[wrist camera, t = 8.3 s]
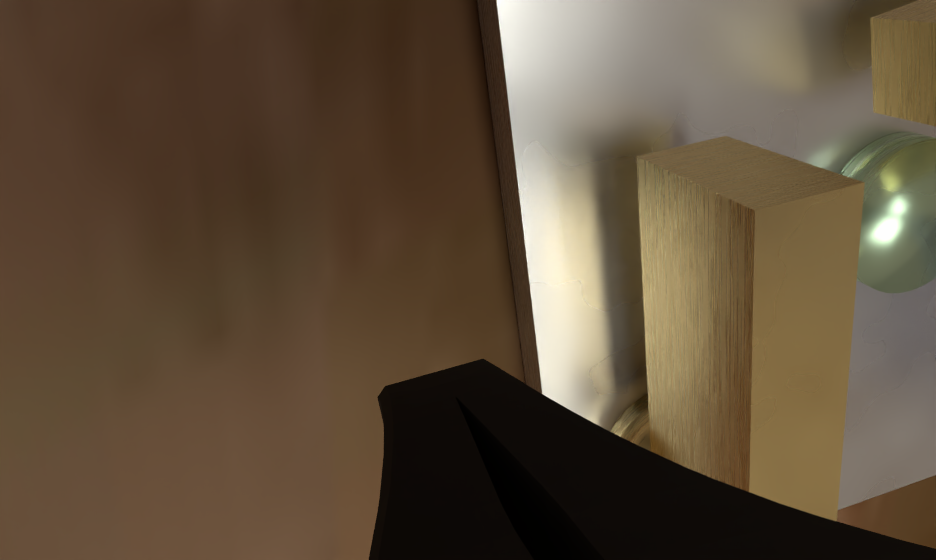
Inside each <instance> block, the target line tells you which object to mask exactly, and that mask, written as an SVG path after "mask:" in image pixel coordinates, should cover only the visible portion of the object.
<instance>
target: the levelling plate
mask: <svg viewBox="0 0 936 560" xmlns="http://www.w3.org/2000/svg"><path fill="white" fill-rule="evenodd" d="M914 1H917V0H477V5H478V12H479V20H480V28H481V36H482V44H483V52H484V60H485V68H486V76H487V83H488V91H489V99H490V107H491V115H492V123H493V131H494V139H495V146H496V154H497V162H498V170H499V178H500V186H501V194H502V202H503V210H504V217H505V225H506V233H507V241H508V249H509V257H510V265H511V273H512V280H513V288H514V296H515V304H516V312H517V320H518V328H519V336H520V344H521V351H522V359H523V367H524V375H525V383H526V385H528V386H530V387H531V388H533V389H535V390H536V391H538V392H540V393H541V394H543V395H545V396H546V397H548V398H550V399H552V400H553V401H555V402H557V403H559V404H560V405H562V406H564V407H566V408H567V409H569V410H571V411H573V412H575V413H576V414H578V415H580V416H582V417H584V418H586V419H587V420H589V421H591V422H593V423H595V424H597V425H599V426H601V427H602V428H604V429H606V430H608V431H611V429H612V427H613V426H614V424H615V423H616V421H617V420H618V418H619V417H620V416H621V415H622V414H623V412H624V411H625V410H626V409H627V408H628V407H630V406H631V405H632V404H633V403H634V402H636V401H637V400H638V399H640V398H641V397H643V396H644V395H646V394H648V387H647V366H646V345H645V324H644V303H643V283H642V262H641V241H640V220H639V199H638V178H637V157H636V156H641V155H645V154H649V153H654V152H658V151H662V150H667V149H671V148H675V147H680V146H684V145H688V144H693V143H697V142H701V141H706V140H710V139H714V138H719V137H723V136H728V137H731V138H734V139H737V140H740V141H742V142H745V143H748V144H751V145H754V146H757V147H760V148H763V149H766V150H769V151H772V152H775V153H778V154H781V155H784V156H787V157H790V158H793V159H796V160H799V161H802V162H805V163H808V164H811V165H814V166H817V167H820V168H823V169H826V170H829V171H832V172H835V173H838V174H841V175H844V176H847V177H850V178H853V179H856V180H859V181H862V182H865V185H864V197H863V209H862V221H861V233H860V245H859V258H858V270H857V282H856V294H855V306H854V318H853V330H852V342H851V355H850V367H849V379H848V391H847V403H846V415H845V427H844V440H843V452H842V464H841V476H840V488H839V500H838V510H839V509H842V508H845V507H848V506H850V505H853V504H856V503H859V502H862V501H864V500H867V499H870V498H873V497H875V496H878V495H881V494H884V493H887V492H889V491H892V490H895V489H898V488H901V487H903V486H906V485H909V484H912V483H914V482H917V481H920V480H923V479H926V478H928V477H931V476H934V475H936V126H932V125H927V124H923V123H918V122H914V121H909V120H905V119H900V118H896V117H891V116H887V115H882V114H878V113H874V112H873V85H872V56H871V27H870V18H871V17H874V16H876V15H879V14H882V13H885V12H887V11H890V10H893V9H895V8H898V7H901V6H903V5H906V4H909V3H912V2H914Z"/></svg>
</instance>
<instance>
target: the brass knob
mask: <svg viewBox="0 0 936 560" xmlns="http://www.w3.org/2000/svg"><path fill="white" fill-rule="evenodd" d="M636 157H637V178H638V199H639V220H640V241H641V262H642V283H643V303H644V324H645V345H646V366H647V387H648V394H646V395H644V396H643V397H641V398H640V399H638V400H637V401H636V402H634V403H633V404H632V405H631V406H630V407H628V408H627V409H626V410H625V411H624V412H623V414H622V415H621V416H620V417H619V418H618V420H617V421H616V423H615V424H614V426H613V427H612V429H611V431H610V432H612V433H614V434H616V435H618V436H620V437H622V438H624V439H626V440H628V441H630V442H632V443H634V444H636V445H638V446H641V447H643V448H645V449H647V450H649V451H651V452H654V453H656V454H658V455H660V456H662V457H664V458H667V459H669V460H671V461H673V462H675V463H677V464H680V465H682V466H684V467H686V468H689V469H691V470H694V471H696V472H698V473H701V474H703V475H706V476H708V477H710V478H713V479H715V480H718V481H721V482H723V483H726V484H729V485H732V486H734V487H737V488H740V489H742V490H745V491H748V492H750V493H753V494H756V495H758V496H761V497H764V498H766V499H769V500H772V501H775V502H777V503H780V504H783V505H786V506H789V507H792V508H795V509H798V510H801V511H804V512H807V513H810V514H814V515H817V516H820V517H823V518H826V519H830V520H833V521H837V512H838V500H839V488H840V476H841V464H842V452H843V440H844V427H845V415H846V403H847V391H848V379H849V367H850V355H851V342H852V330H853V318H854V306H855V294H856V282H857V270H858V258H859V245H860V233H861V221H862V209H863V197H864V185H865V182H862V181H859V180H856V179H853V178H850V177H847V176H844V175H841V174H838V173H835V172H832V171H829V170H826V169H823V168H820V167H817V166H814V165H811V164H808V163H805V162H802V161H799V160H796V159H793V158H790V157H787V156H784V155H781V154H778V153H775V152H772V151H769V150H766V149H763V148H760V147H757V146H754V145H751V144H748V143H745V142H742V141H740V140H737V139H734V138H731V137H728V136H723V137H719V138H714V139H710V140H706V141H701V142H697V143H693V144H688V145H684V146H680V147H675V148H671V149H667V150H662V151H658V152H654V153H649V154H645V155H641V156H636Z"/></svg>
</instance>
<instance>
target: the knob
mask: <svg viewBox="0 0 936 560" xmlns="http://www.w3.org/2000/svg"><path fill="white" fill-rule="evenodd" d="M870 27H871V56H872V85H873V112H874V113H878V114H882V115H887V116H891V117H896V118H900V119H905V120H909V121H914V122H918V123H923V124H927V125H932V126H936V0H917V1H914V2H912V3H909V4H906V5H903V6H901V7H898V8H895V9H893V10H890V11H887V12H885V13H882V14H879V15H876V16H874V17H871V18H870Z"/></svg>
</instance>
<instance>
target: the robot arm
mask: <svg viewBox="0 0 936 560" xmlns="http://www.w3.org/2000/svg"><path fill="white" fill-rule="evenodd" d="M378 401H379V406H380V410H381V414H382V419H383V423H384V458H383V469H382V479H381V490H380V499H379V506H378V513H377V518H376V523H375V529H374V534H373V540H372V545H371V550H370V556H369V560H936V549H934V548H930V547H926V546H922V545H918V544H914V543H910V542H906V541H902V540H899V539H895V538H892V537H888V536H885V535H881V534H878V533H875V532H871V531H868V530H864V529H861V528H857V527H854V526H850V525H847V524H844V523H840V522H837V521H833V520H830V519H826V518H823V517H820V516H817V515H814V514H810V513H807V512H804V511H801V510H798V509H795V508H792V507H789V506H786V505H783V504H780V503H777V502H775V501H772V500H769V499H766V498H764V497H761V496H758V495H756V494H753V493H750V492H748V491H745V490H742V489H740V488H737V487H734V486H732V485H729V484H726V483H723V482H721V481H718V480H715V479H713V478H710V477H708V476H706V475H703V474H701V473H698V472H696V471H694V470H691V469H689V468H686V467H684V466H682V465H680V464H677V463H675V462H673V461H671V460H669V459H667V458H664V457H662V456H660V455H658V454H656V453H654V452H651V451H649V450H647V449H645V448H643V447H641V446H638V445H636V444H634V443H632V442H630V441H628V440H626V439H624V438H622V437H620V436H618V435H616V434H614V433H612V432H610V431H608V430H606V429H604V428H602V427H601V426H599V425H597V424H595V423H593V422H591V421H589V420H587V419H586V418H584V417H582V416H580V415H578V414H576V413H575V412H573V411H571V410H569V409H567V408H566V407H564V406H562V405H560V404H559V403H557V402H555V401H553V400H552V399H550V398H548V397H546V396H545V395H543V394H541V393H540V392H538V391H536V390H535V389H533V388H531V387H530V386H528V385H526V384H525V383H523V382H521V381H520V380H518V379H516V378H515V377H513V376H511V375H510V374H508V373H506V372H505V371H503V370H501V369H500V368H498V367H496V366H495V365H493V364H491V363H490V362H488V361H486V360H484V359H480V360H477V361H473V362H470V363H466V364H463V365H459V366H455V367H452V368H448V369H445V370H441V371H438V372H434V373H431V374H427V375H423V376H420V377H416V378H413V379H409V380H406V381H402V382H399V383H395V384H391V385H388V386H385V387H384V389H383V390H382V392H381V393H380V394H379V396H378Z"/></svg>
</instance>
